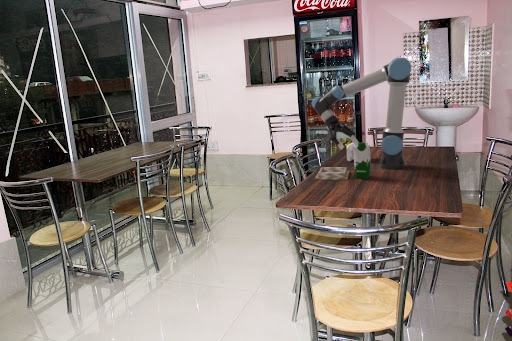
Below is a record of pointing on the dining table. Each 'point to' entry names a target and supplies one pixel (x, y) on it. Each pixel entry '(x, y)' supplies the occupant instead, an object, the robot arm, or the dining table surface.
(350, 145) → the cable organizer
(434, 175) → the dining table surface
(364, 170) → the milk carton
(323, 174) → the tray
